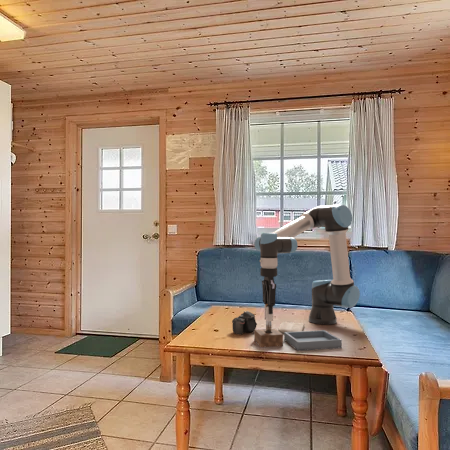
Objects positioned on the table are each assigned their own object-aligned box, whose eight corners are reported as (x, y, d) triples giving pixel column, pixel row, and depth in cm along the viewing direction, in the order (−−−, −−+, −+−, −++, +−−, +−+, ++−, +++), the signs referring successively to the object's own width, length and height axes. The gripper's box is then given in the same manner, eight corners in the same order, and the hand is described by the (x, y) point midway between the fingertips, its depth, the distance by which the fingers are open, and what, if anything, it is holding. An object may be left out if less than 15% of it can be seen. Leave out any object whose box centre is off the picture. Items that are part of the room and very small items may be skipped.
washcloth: (304, 327, 195) (304, 321, 195) (302, 336, 178) (302, 330, 178) (282, 325, 198) (282, 320, 198) (277, 334, 181) (277, 328, 181)
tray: (324, 337, 174) (324, 330, 174) (341, 348, 159) (341, 339, 159) (284, 339, 170) (284, 332, 170) (297, 350, 154) (298, 342, 155)
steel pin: (270, 335, 166) (270, 303, 166) (272, 336, 164) (272, 304, 164) (265, 335, 166) (265, 303, 166) (267, 336, 163) (267, 305, 163)
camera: (247, 336, 175) (247, 315, 175) (230, 333, 180) (230, 312, 181) (260, 330, 186) (261, 310, 186) (243, 327, 192) (244, 308, 192)
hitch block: (275, 339, 170) (275, 328, 170) (282, 346, 161) (283, 334, 161) (254, 340, 168) (254, 329, 168) (260, 347, 159) (260, 335, 159)
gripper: (255, 265, 172) (255, 316, 172) (266, 269, 157) (266, 324, 156) (271, 265, 173) (271, 315, 173) (282, 268, 158) (282, 324, 158)
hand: (268, 320), depth 165 cm, fingers closed on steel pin, 2 cm apart
